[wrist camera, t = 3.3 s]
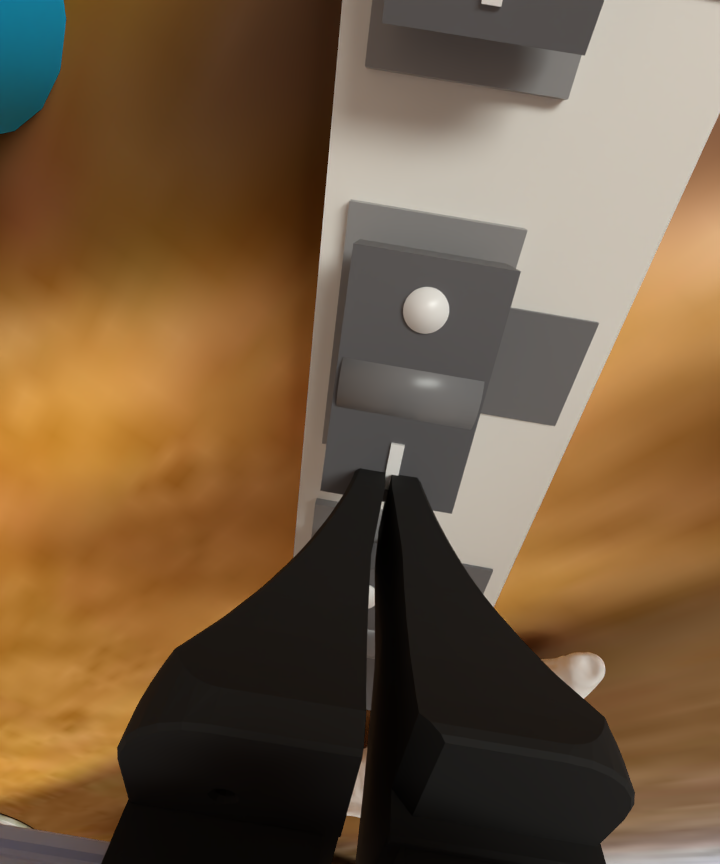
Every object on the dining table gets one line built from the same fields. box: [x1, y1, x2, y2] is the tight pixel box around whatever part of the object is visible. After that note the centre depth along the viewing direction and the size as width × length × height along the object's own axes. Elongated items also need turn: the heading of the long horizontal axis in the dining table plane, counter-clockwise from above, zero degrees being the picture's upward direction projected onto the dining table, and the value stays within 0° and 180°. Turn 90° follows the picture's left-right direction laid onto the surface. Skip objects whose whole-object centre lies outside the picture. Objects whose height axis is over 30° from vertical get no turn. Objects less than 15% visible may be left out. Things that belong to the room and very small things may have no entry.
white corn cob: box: [347, 652, 605, 818], centre depth 27 cm, size 5×20×5 cm, turn 148°
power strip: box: [293, 0, 720, 607], centre depth 13 cm, size 8×34×5 cm, turn 172°
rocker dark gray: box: [320, 239, 521, 514], centre depth 11 cm, size 3×6×2 cm, turn 172°
